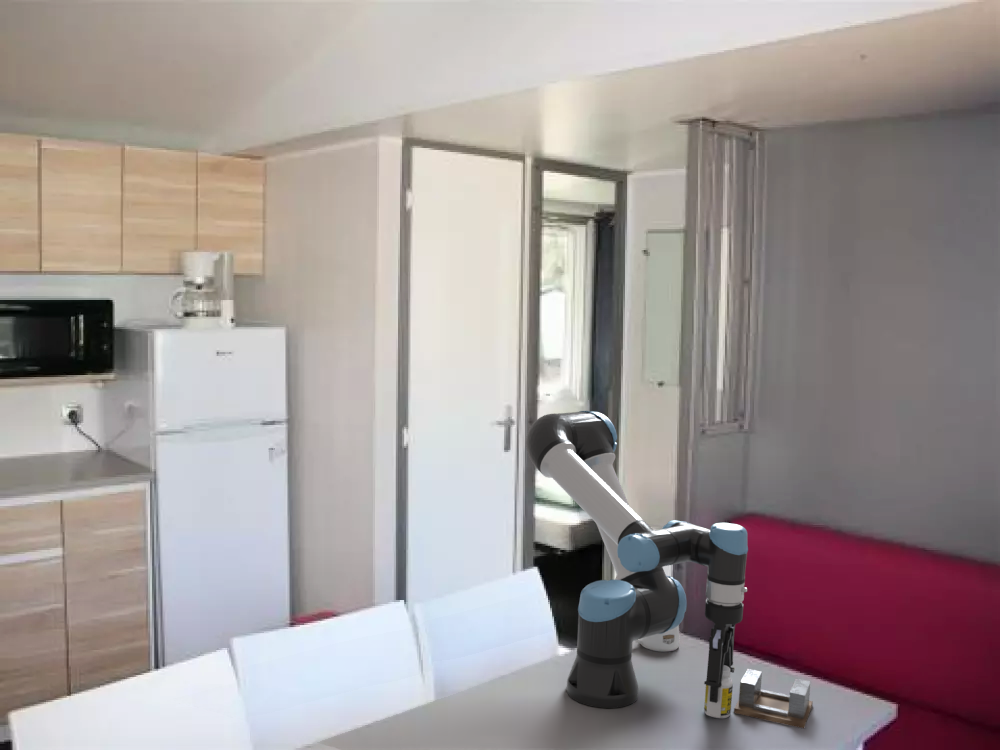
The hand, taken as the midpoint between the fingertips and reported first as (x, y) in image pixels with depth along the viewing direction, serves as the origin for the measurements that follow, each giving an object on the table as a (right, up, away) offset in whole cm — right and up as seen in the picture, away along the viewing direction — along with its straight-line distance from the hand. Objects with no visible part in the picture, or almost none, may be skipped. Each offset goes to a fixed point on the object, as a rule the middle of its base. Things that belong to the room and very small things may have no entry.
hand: (717, 708), depth 201 cm
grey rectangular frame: (+12, -1, +3) cm, 13 cm away
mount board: (+12, -1, +3) cm, 13 cm away
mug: (-7, +3, +36) cm, 37 cm away
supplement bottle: (0, -1, 0) cm, 1 cm away
